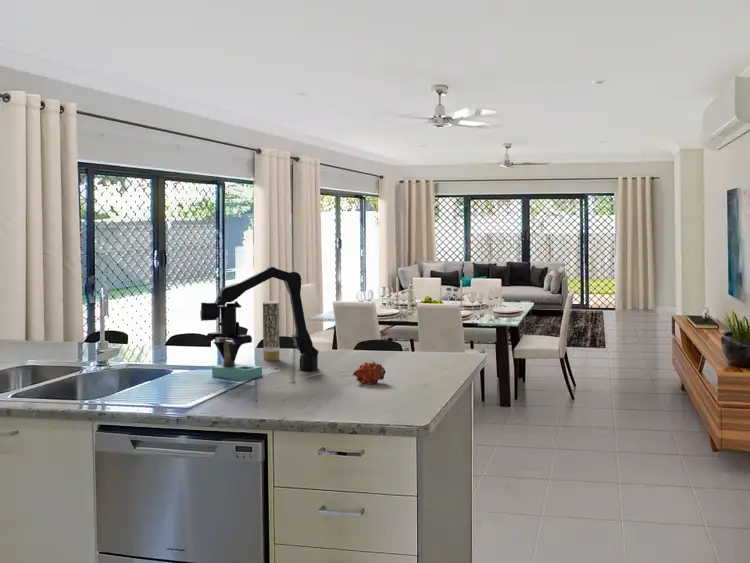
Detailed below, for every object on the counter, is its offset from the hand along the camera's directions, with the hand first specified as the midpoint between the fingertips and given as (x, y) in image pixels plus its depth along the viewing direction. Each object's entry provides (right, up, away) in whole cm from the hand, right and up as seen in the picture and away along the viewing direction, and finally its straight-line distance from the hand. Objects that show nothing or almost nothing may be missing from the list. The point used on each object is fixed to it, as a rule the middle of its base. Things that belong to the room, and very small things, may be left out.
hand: (229, 360), depth 285 cm
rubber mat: (+12, -6, +7) cm, 15 cm away
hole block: (+3, -6, -2) cm, 7 cm away
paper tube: (+11, -4, +37) cm, 39 cm away
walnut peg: (0, -3, 0) cm, 3 cm away
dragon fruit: (+53, -7, -15) cm, 56 cm away
